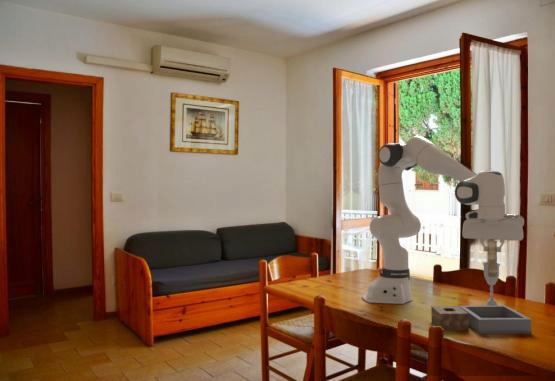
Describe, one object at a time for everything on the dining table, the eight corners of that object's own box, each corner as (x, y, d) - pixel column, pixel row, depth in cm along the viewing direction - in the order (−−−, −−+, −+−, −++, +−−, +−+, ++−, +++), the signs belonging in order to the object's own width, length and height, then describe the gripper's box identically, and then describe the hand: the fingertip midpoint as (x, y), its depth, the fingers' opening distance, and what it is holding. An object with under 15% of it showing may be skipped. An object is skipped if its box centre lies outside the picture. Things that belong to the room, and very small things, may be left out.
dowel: (496, 277, 160) (496, 241, 160) (487, 276, 161) (487, 241, 161) (497, 275, 162) (497, 240, 162) (488, 275, 164) (488, 240, 164)
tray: (479, 333, 153) (478, 319, 153) (459, 318, 171) (459, 305, 171) (531, 333, 153) (531, 319, 153) (506, 318, 171) (506, 305, 171)
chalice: (479, 303, 193) (479, 262, 193) (494, 302, 193) (493, 262, 193) (489, 307, 186) (488, 265, 186) (504, 307, 186) (503, 264, 186)
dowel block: (440, 330, 158) (440, 313, 158) (431, 321, 168) (431, 306, 168) (468, 330, 157) (468, 313, 157) (458, 321, 167) (457, 306, 167)
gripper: (524, 214, 159) (525, 252, 159) (463, 213, 170) (464, 248, 170) (523, 215, 154) (524, 254, 154) (461, 214, 164) (461, 251, 164)
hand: (492, 251), depth 162 cm, fingers closed on dowel, 3 cm apart
